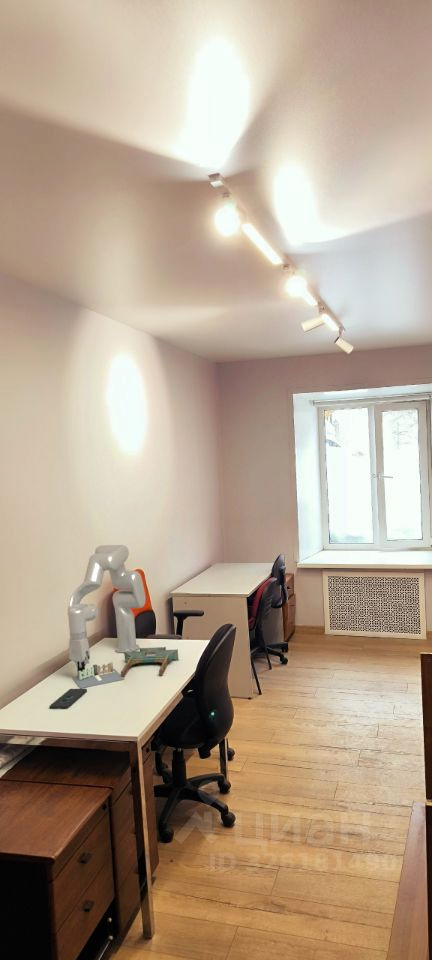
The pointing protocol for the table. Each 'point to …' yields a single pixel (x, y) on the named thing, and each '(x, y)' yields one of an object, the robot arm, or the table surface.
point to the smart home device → (68, 699)
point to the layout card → (98, 679)
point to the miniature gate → (149, 657)
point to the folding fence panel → (85, 673)
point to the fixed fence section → (110, 669)
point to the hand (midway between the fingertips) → (81, 674)
